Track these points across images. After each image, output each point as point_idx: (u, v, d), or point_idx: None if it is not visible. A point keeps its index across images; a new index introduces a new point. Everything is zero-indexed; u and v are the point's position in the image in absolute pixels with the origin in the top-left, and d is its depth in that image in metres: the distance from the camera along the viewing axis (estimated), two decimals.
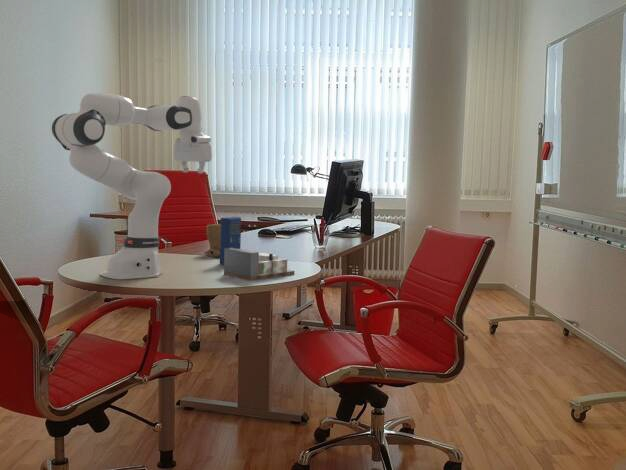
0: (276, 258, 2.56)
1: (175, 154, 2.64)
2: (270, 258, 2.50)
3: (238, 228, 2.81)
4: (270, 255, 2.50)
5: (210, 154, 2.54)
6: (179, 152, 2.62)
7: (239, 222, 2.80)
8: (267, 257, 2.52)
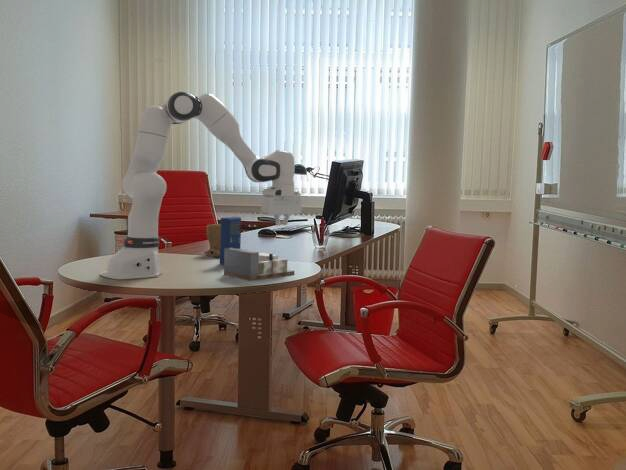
0: (276, 258, 2.56)
1: None
2: (270, 258, 2.50)
3: (238, 228, 2.81)
4: (270, 255, 2.50)
5: (266, 207, 2.54)
6: None
7: (239, 222, 2.80)
8: (267, 257, 2.52)
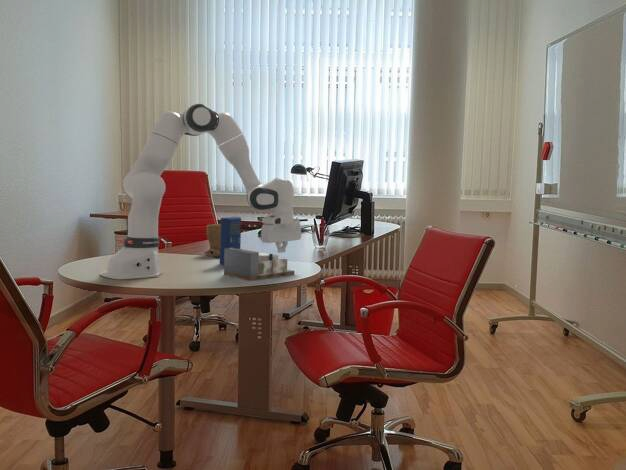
0: (276, 258, 2.56)
1: None
2: (270, 258, 2.50)
3: (238, 228, 2.81)
4: (270, 255, 2.50)
5: (266, 236, 2.55)
6: None
7: (239, 222, 2.80)
8: (267, 257, 2.52)
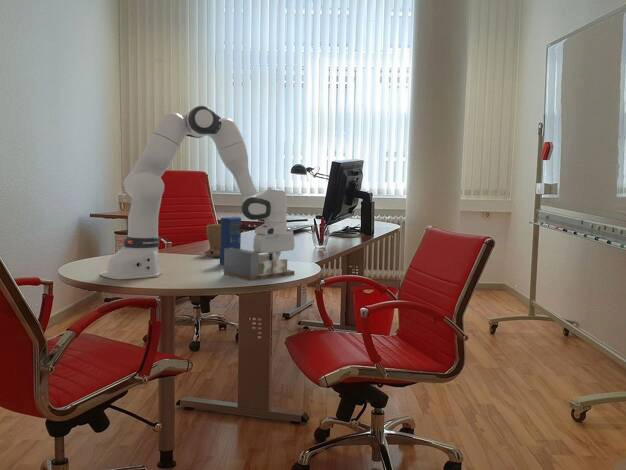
0: (276, 258, 2.56)
1: None
2: (270, 258, 2.50)
3: (238, 228, 2.81)
4: (270, 255, 2.50)
5: (258, 246, 2.53)
6: None
7: (239, 222, 2.80)
8: (267, 257, 2.52)
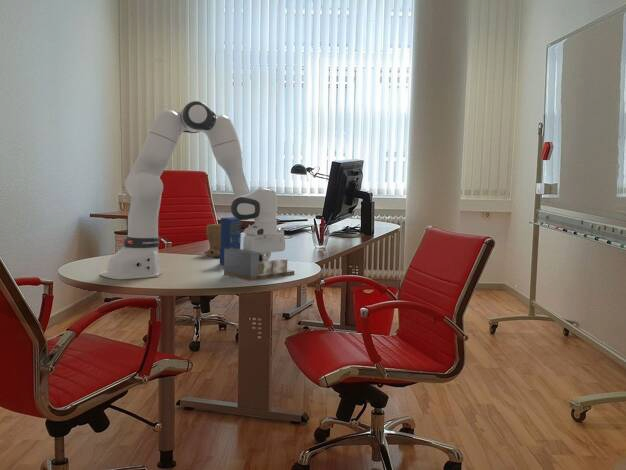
0: (266, 259, 2.52)
1: None
2: (260, 259, 2.46)
3: (238, 228, 2.81)
4: (260, 256, 2.46)
5: (248, 247, 2.49)
6: None
7: (239, 222, 2.80)
8: None
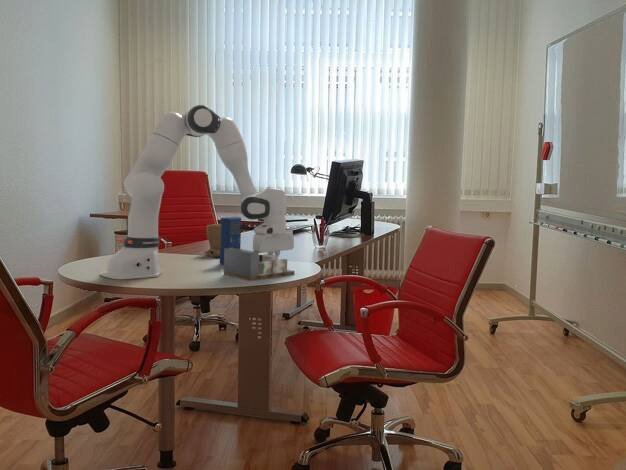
0: (274, 258, 2.55)
1: None
2: (260, 259, 2.46)
3: (238, 228, 2.81)
4: (260, 256, 2.46)
5: (258, 246, 2.52)
6: None
7: (239, 222, 2.80)
8: (265, 257, 2.51)
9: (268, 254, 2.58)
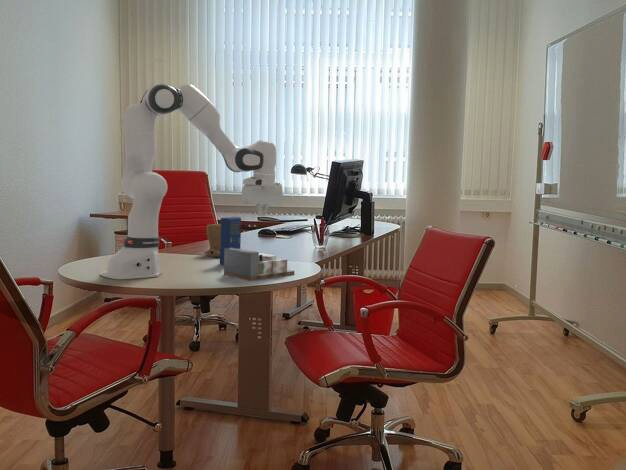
0: (274, 258, 2.55)
1: None
2: (260, 259, 2.46)
3: (238, 228, 2.81)
4: (260, 256, 2.46)
5: (246, 196, 2.54)
6: None
7: (239, 222, 2.80)
8: (265, 257, 2.51)
9: (268, 254, 2.58)
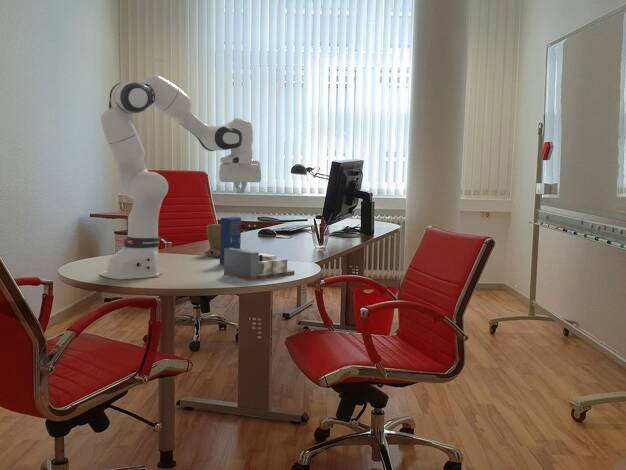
0: (274, 258, 2.55)
1: None
2: (260, 259, 2.46)
3: (238, 228, 2.81)
4: (260, 256, 2.46)
5: (224, 175, 2.56)
6: None
7: (239, 222, 2.80)
8: (265, 257, 2.51)
9: (268, 254, 2.58)
